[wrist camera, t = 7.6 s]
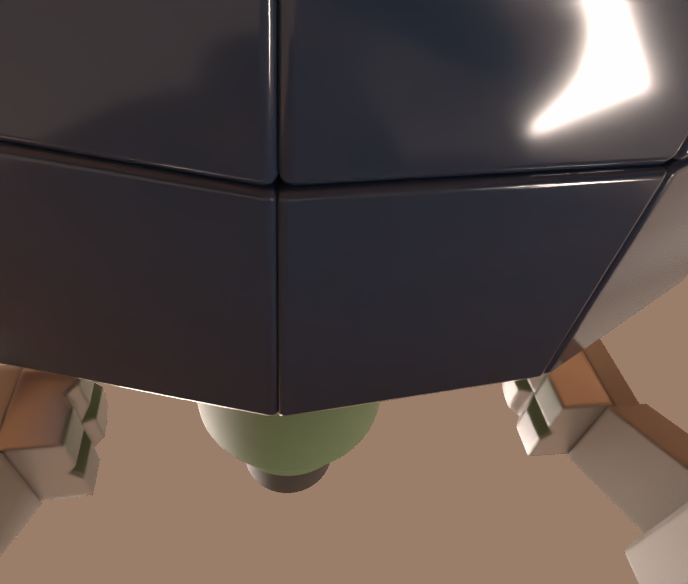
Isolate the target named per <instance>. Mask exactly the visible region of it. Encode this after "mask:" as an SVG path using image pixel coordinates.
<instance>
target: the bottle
mask: <svg viewBox="0 0 688 584" xmlns="http://www.w3.org/2000/svg"><path fill="white" fill-rule="evenodd" d="M197 403H198V408H199V411H200V415H201V418H202V421H203V423H204V425H205V427H206V429H207V431H208V432H209V433H210V435H211V436H212V438H213V439H214V440H215V441H216V442H217V443H218V444H219V445H220V446H221V447H222V448H223V449H224V450H225V451H227V452H228V453H229V454H230V455H232V456H234V457H236V458H237V459H239V460H241V461H243V462H245V463H246V464H247V467H248V470H249V472H250V473H251V475H252V476H253V478H254V479H255V480H256V481H257V482H258V483H260V484H261V485H262V486H264V487H266V488H268V489H270V490H273V491H276V492H282V493H293V492H298V491H302V490H304V489H307V488H309V487H311V486H312V485H314V484H315V483H316V482H318V480H320V479H321V478H322V476H323V475H324V474H325V472H326V470H327V469H328V466H329V464H330V462H333V461H334V460H336V459H338V458H340V457H342V456H343V455H345V454H346V453H348V452H349V451H350V450H351V449H353V448H354V447H355V446H356V445H357V444H358V443H359V442H360V441H361V440H362V439H363V437H364V436H365V435H366V434H367V432H368V431H369V429H370V427H371V425H372V424H373V422H374V419H375V417H376V414H377V411H378V407H379V403H380V402H375V403H369V404H362V405H356V406H349V407H343V408H337V409H330V410H324V411H317V412H311V413H304V414H298V415H292V416H280V414H279V413H278V412H277V413H276V415H275V416H266V415H261V414H256V413H251V412H246V411H241V410H236V409H231V408H225V407H220V406H215V405H210V404H205V403H200V402H197Z"/></svg>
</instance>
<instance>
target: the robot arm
mask: <svg viewBox="0 0 688 584" xmlns="http://www.w3.org/2000/svg"><path fill="white" fill-rule="evenodd" d="M502 387H503V392H504V396H505V399H506V402H507V404H508V407H509V408H510V409H511V410H513V411H514V412H515V413H516V414H517V415H519V419H518V422H517V426H516V427H517V430H518V432H519V435H520V437H521V439H522V442H523V444H524V447H525V449H526V452H527V454H528V456H539V455H554V454H568V455H567V457H568V458H569V459H570V460H571V461H572V462H574V464H575V465H576V466H577V467H578V468H579V469H580V470H581V471H582V472H583V473H584V474H585V475H586V476H587V477H588V478H589V479H590V480H591V481H592V482H593V483H594V484H595V485H596V486H597V487H598V488H599V489H600V490H601V491H602V492H603V493H604V494H605V495H606V496H607V497H608V498H609V499H610V500H611V501H612V502H613V503H614V504H615V505H616V506H617V507H618V508H619V509H620V510H621V511H622V512H623V513H624V514H625V515H626V516H627V517H628V518H629V519H630V520H631V521H632V522H633V523H634V524H635V525H636V526H637V527H638V528H639V529H640V530H641V531H642V532H643V533H644V534H643V535H642V536H640V537H639V538H637V539H636V540H635V541H633V542H632V543H630V544H629V545H628V546H627V549H626V551H625V554H626V556H627V558H628V561H629V563H630V565H631V567H632V569H633V571H634V573H635V575H636V578H637V580H638V582H639V584H688V434H687V433H686V432H685V431H683V430H682V429H681V428H679V427H678V426H676V425H675V424H674V423H672V422H671V421H669V420H668V419H666V418H665V417H664V416H662V415H661V414H660V413H658V412H657V411H655V410H654V409H653V408H651V407H650V406H649V405H647V404H639V402H638V401H637V399H636V398H635V396H634V394H633V393H632V391H631V389H630V388H629V386H628V384H627V383H626V381H625V379H624V378H623V376H622V374H621V373H620V371H619V369H618V368H617V366H616V364H615V363H614V361H613V359H612V358H611V356H610V354H609V353H608V351H607V349H606V348H605V346H604V345H603V343H602V342H601V340H600V339H598V340H596V341H595V342H594V343H592V344H591V345H589V346H588V347H586V348H585V349H584V350H582V351H581V352H579V353H578V354H576V355H575V356H573V357H572V358H571V359H569V360H568V361H566V362H565V363H563V364H562V365H560V366H559V367H558V368H556V369H555V370H553V371H552V372H550V373H547V374H542V375H541V376H539V377H536V378H530V379H523V380H517V381H511V382H504V383H502ZM106 425H107V400H106V395H105V392H104V390H103V388H102V387H101V386H99V385H97V384H96V383H94V382H93V381H88V380H82V379H77V378H72V377H67V376H62V375H57V374H52V373H47V372H42V371H36V370H31V369H26V368H21V367H16V366H11V365H2V366H0V556H1V555H2V554H3V553H4V551H5V550H6V549H7V547H8V546H9V545H10V544H11V542H12V541H13V540H14V539H15V537H16V536H17V535H18V533H19V532H20V531H21V530H22V528H23V527H24V526H25V525H26V523H27V522H28V521H29V520H30V518H31V517H32V516H33V514H34V513H35V512H36V511H37V509H38V508H39V507H40V506H41V504H42V502H41V501H43V500H53V499H61V498H70V497H79V496H88V495H93V492H94V487H95V482H96V477H97V472H98V467H99V462H100V458H99V456H98V454H97V452H96V450H95V448H94V447H95V446H96V445H97V444H98V443H99V442H100V441H101V440H102V439H103V438H104V436H105V431H106Z"/></svg>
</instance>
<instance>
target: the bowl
mask: <svg viewBox="0 0 688 584" xmlns="http://www.w3.org/2000/svg"><path fill="white" fill-rule="evenodd" d="M687 274H688V0H0V363H1V364H6V365H11V366H16V367H21V368H26V369H31V370H36V371H42V372H47V373H52V374H57V375H62V376H67V377H72V378H77V379H82V380H88V381H93V382H98V383H103V384H108V385H113V386H118V387H124V388H129V389H134V390H139V391H144V392H149V393H154V394H159V395H165V396H169V397H174V398H179V399H185V400H190V401H195V402H200V403H205V404H210V405H215V406H220V407H225V408H231V409H236V410H241V411H246V412H251V413H256V414H261V415H266V416H275V415H276V413H277V412H278V413H279V414H280V416H292V415H298V414H304V413H311V412H317V411H324V410H330V409H337V408H343V407H349V406H356V405H362V404H369V403H375V402H381V401H388V400H395V399H401V398H407V397H414V396H420V395H427V394H433V393H439V392H445V391H452V390H459V389H465V388H472V387H478V386H484V385H491V384H497V383H504V382H511V381H517V380H523V379H530V378H536V377H539V376H541V375H542V374H547V373H550V372H552V371H553V370H555V369H556V368H558V367H559V366H560V365H562V364H563V363H565V362H566V361H568V360H569V359H571V358H572V357H573V356H575V355H576V354H578V353H579V352H581V351H582V350H584V349H585V348H586V347H588V346H589V345H591V344H592V343H594V342H595V341H596V340H598V339H599V338H601V337H602V336H604V335H605V334H607V333H608V332H609V331H611V330H612V329H614V328H615V327H617V326H618V325H619V324H621V323H622V322H624V321H625V320H627V319H628V318H629V317H631V316H632V315H634V314H635V313H637V312H638V311H640V310H641V309H643V308H644V307H645V306H647V305H648V304H650V303H651V302H653V301H654V300H655V299H657V298H658V297H660V296H661V295H662V294H664V293H665V292H667V291H668V290H670V289H671V288H673V287H674V286H676V285H677V284H679V283H680V282H681V281H682V280H683V279H684V278H685V277H686V275H687Z"/></svg>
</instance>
